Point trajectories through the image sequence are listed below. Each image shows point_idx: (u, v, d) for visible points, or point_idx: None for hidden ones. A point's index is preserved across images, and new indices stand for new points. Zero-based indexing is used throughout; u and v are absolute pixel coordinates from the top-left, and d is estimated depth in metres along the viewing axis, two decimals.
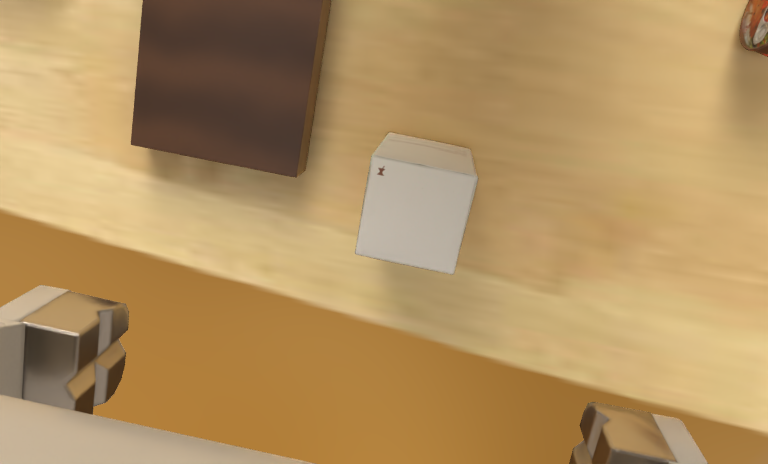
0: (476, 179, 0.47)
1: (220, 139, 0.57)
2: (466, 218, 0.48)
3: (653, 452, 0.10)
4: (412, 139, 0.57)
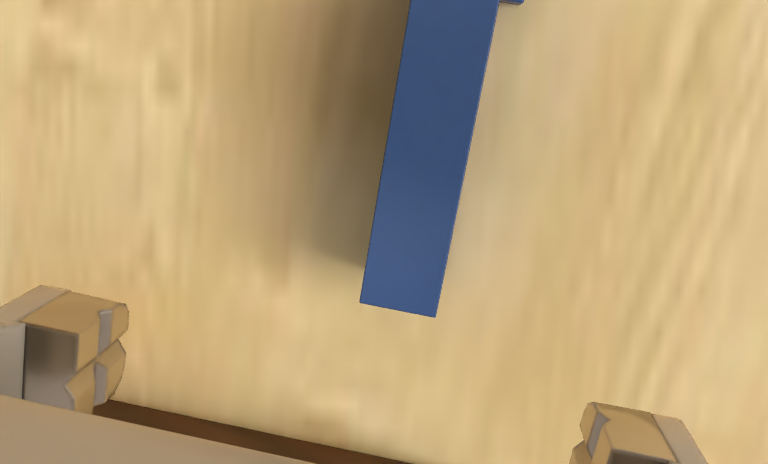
0: None
1: None
2: None
3: (653, 452, 0.10)
4: None
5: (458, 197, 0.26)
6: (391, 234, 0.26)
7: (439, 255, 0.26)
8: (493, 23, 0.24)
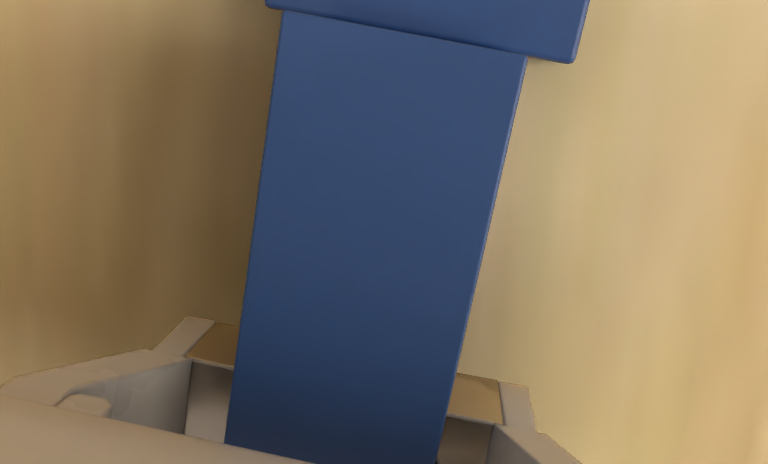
0: None
1: None
2: None
3: (483, 416, 0.10)
4: None
5: None
6: None
7: None
8: (505, 137, 0.09)
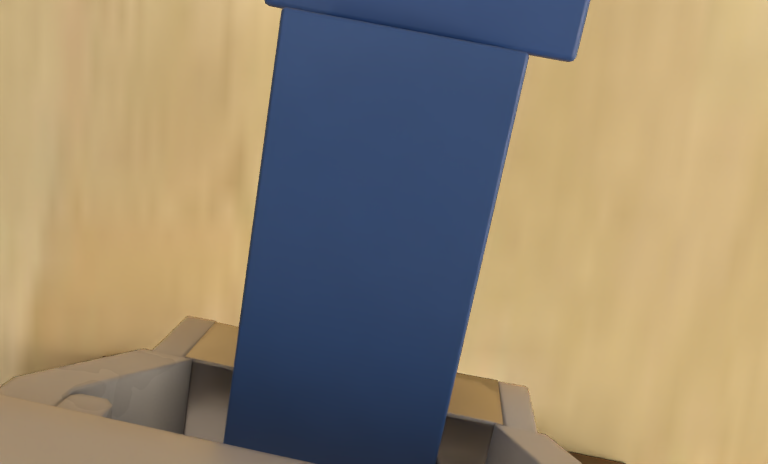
0: None
1: None
2: None
3: (483, 416, 0.10)
4: None
5: None
6: None
7: None
8: (506, 135, 0.09)
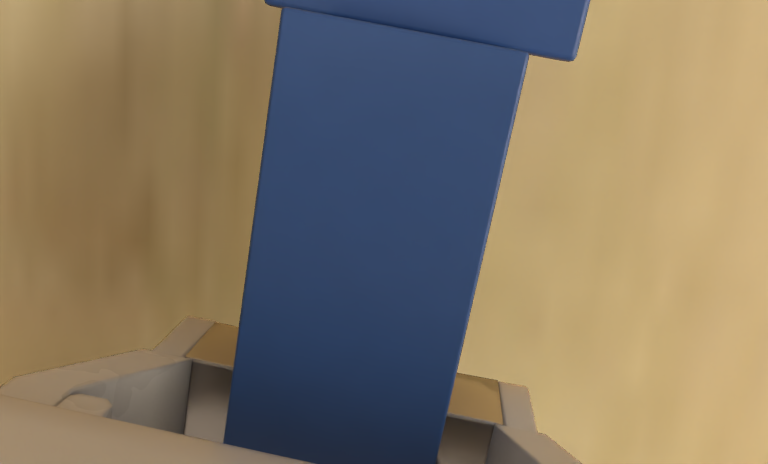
0: None
1: None
2: None
3: (483, 416, 0.10)
4: None
5: None
6: None
7: None
8: (506, 134, 0.09)
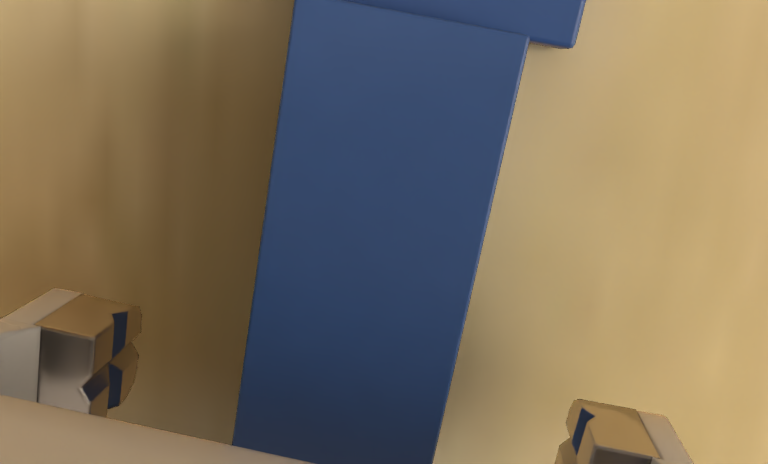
0: None
1: None
2: None
3: (637, 448, 0.10)
4: None
5: None
6: None
7: None
8: (508, 114, 0.09)
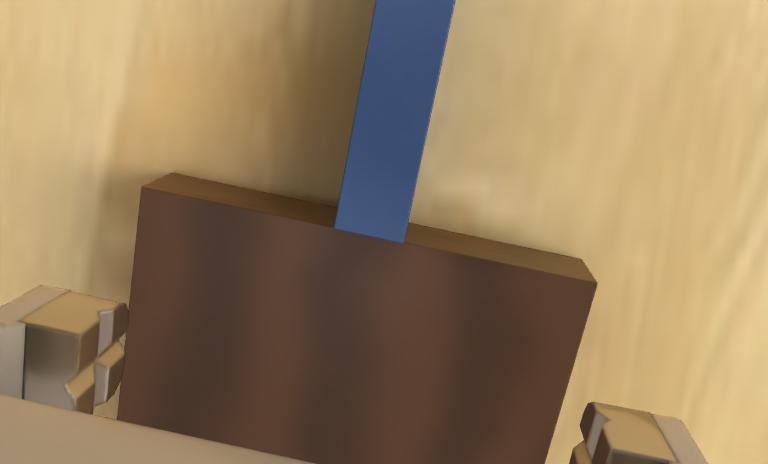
0: None
1: (164, 349, 0.32)
2: None
3: (653, 452, 0.10)
4: None
5: (426, 130, 0.28)
6: (364, 164, 0.29)
7: (407, 185, 0.29)
8: None
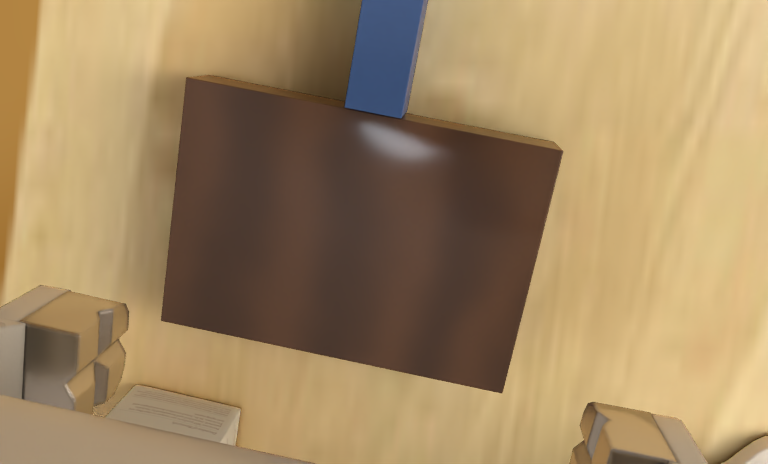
0: None
1: (204, 218, 0.39)
2: None
3: (653, 452, 0.10)
4: None
5: (418, 21, 0.35)
6: (368, 51, 0.35)
7: (404, 68, 0.35)
8: None
